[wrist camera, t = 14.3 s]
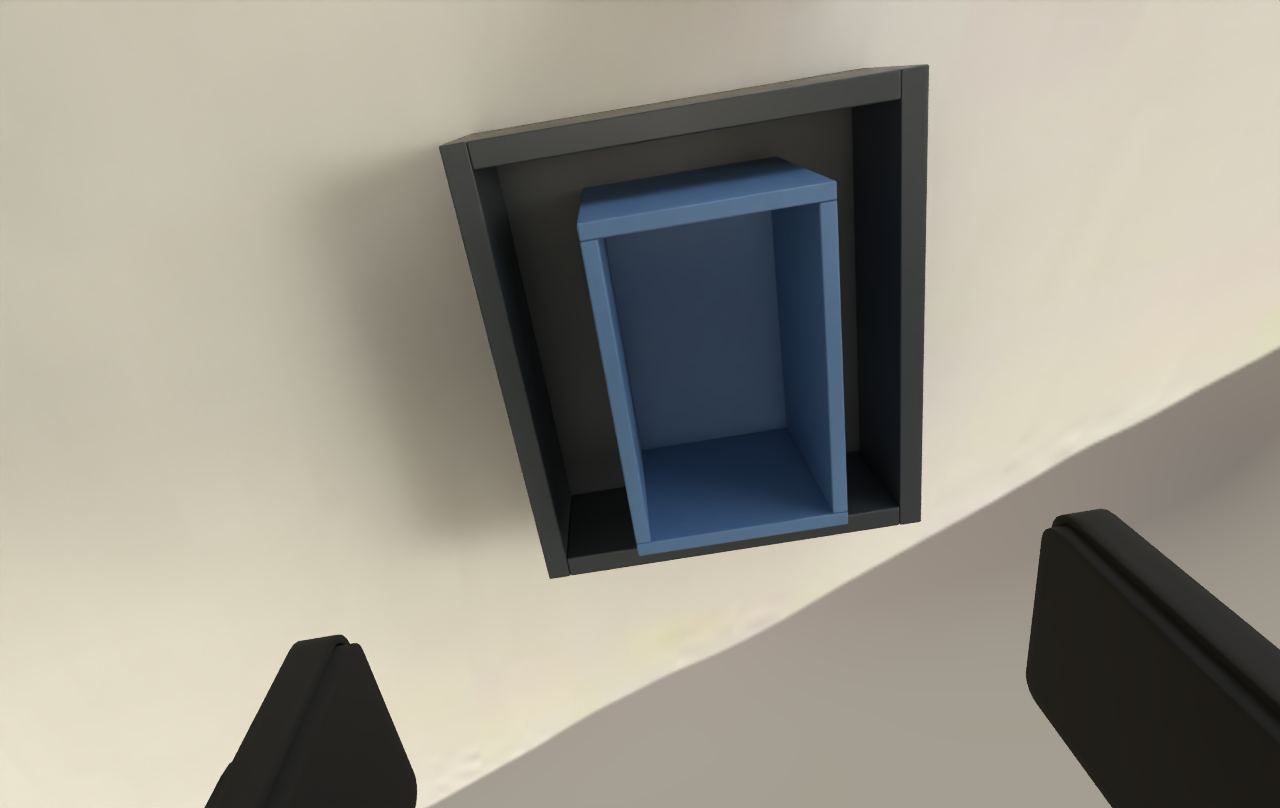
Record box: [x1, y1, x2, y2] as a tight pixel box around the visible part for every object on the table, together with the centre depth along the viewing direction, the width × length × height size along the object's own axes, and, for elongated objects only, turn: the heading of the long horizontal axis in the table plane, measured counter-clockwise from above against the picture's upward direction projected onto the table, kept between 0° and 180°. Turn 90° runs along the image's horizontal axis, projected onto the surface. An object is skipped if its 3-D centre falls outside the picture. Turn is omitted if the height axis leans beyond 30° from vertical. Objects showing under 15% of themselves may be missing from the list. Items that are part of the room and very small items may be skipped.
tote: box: [439, 64, 929, 579], centre depth 26 cm, size 14×16×5 cm
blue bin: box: [577, 156, 848, 556], centre depth 24 cm, size 7×11×7 cm, turn 9°
